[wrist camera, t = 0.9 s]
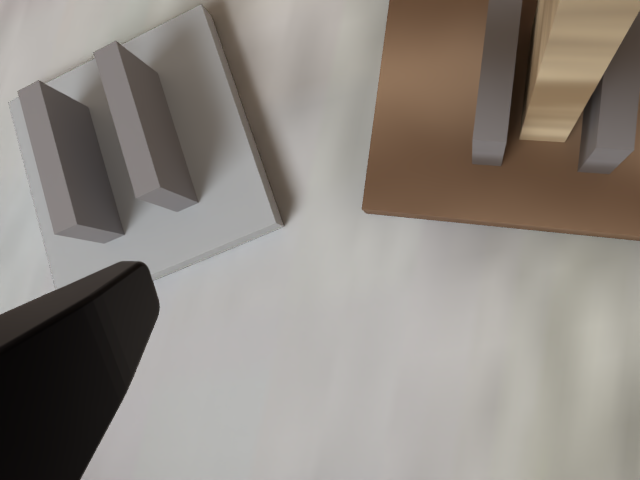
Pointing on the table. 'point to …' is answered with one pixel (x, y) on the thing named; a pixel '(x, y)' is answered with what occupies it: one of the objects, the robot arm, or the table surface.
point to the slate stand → (143, 155)
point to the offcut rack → (496, 127)
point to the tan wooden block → (569, 61)
